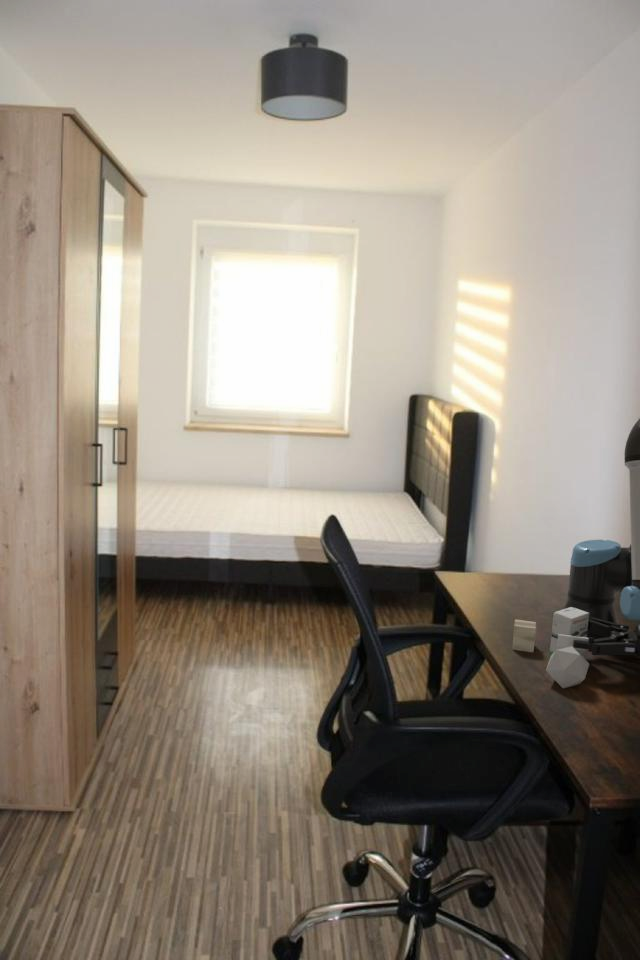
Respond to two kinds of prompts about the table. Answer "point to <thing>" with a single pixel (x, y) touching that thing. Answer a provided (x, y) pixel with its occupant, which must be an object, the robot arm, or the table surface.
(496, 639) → the table surface
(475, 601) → the table surface
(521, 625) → the birch block
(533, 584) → the table surface
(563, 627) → the ink box
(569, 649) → the die
